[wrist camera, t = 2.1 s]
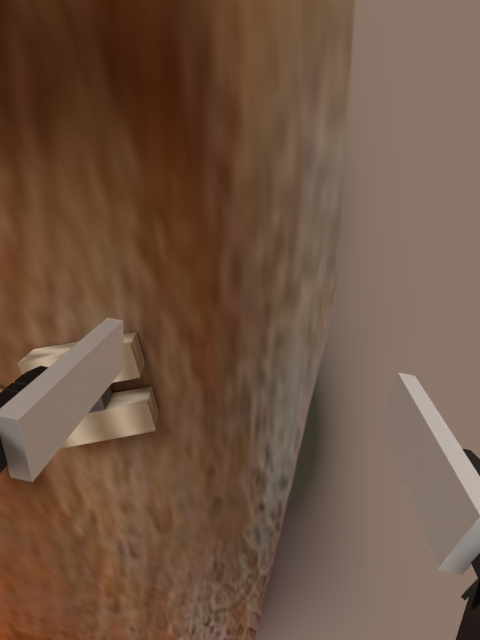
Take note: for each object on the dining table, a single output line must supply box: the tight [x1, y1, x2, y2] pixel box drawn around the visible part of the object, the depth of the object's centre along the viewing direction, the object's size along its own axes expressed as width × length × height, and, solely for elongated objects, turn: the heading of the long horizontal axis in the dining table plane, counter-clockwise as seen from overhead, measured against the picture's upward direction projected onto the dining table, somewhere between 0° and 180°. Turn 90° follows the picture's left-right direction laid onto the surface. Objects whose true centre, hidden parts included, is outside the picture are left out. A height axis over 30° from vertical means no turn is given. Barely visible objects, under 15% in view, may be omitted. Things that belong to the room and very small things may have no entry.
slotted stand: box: [17, 332, 159, 449], centre depth 44 cm, size 14×14×4 cm
